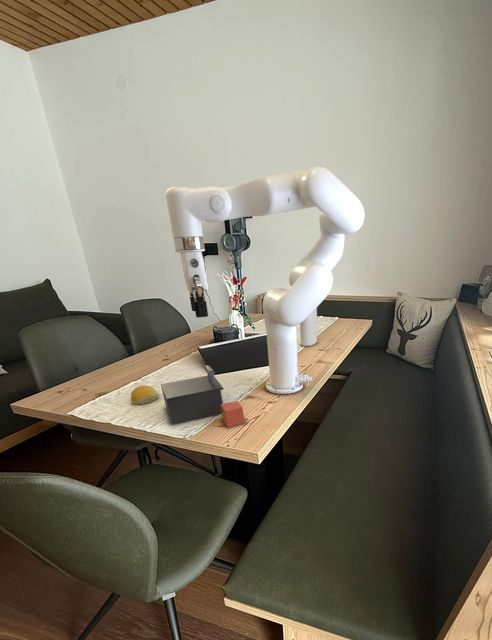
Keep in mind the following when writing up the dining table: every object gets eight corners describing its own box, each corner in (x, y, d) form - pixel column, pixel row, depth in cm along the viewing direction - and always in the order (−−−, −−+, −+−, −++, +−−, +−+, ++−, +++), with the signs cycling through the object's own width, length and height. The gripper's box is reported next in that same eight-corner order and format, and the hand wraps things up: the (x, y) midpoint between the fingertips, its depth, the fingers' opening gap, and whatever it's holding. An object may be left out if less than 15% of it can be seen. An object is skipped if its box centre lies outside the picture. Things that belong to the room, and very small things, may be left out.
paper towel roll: (299, 346, 163) (298, 296, 152) (301, 342, 168) (300, 294, 157) (315, 346, 162) (315, 296, 151) (316, 342, 167) (316, 294, 156)
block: (239, 416, 104) (237, 400, 102) (244, 423, 100) (242, 407, 98) (222, 420, 102) (220, 404, 100) (227, 427, 98) (224, 411, 96)
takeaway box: (214, 398, 116) (210, 377, 112) (224, 413, 106) (220, 390, 103) (166, 408, 111) (161, 386, 107) (172, 424, 101) (166, 401, 97)
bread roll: (131, 407, 112) (128, 395, 110) (132, 396, 120) (129, 385, 118) (159, 402, 115) (156, 390, 113) (158, 392, 122) (155, 381, 120)
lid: (213, 376, 112) (210, 360, 110) (223, 389, 103) (221, 372, 100) (161, 386, 107) (157, 370, 104) (166, 401, 97) (162, 383, 95)
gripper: (209, 245, 86) (218, 318, 95) (199, 244, 100) (208, 307, 109) (177, 247, 84) (189, 321, 93) (172, 245, 98) (183, 309, 107)
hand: (199, 313), depth 101 cm, fingers open, 9 cm apart
